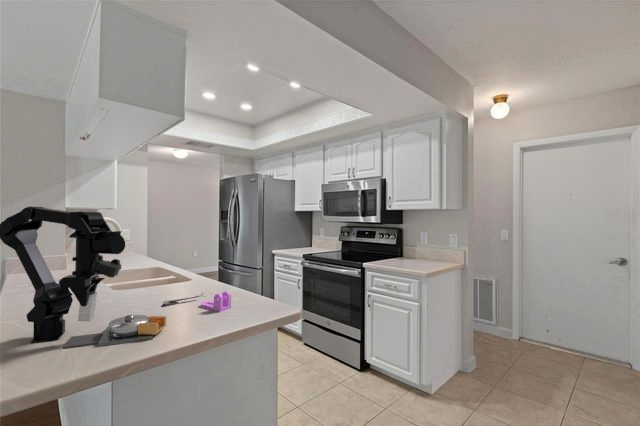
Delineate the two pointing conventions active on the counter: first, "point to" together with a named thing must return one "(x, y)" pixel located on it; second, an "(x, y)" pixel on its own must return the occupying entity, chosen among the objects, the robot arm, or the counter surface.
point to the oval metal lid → (136, 325)
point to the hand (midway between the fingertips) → (86, 304)
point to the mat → (83, 340)
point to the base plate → (121, 338)
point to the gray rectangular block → (88, 308)
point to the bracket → (219, 302)
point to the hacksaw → (178, 300)
